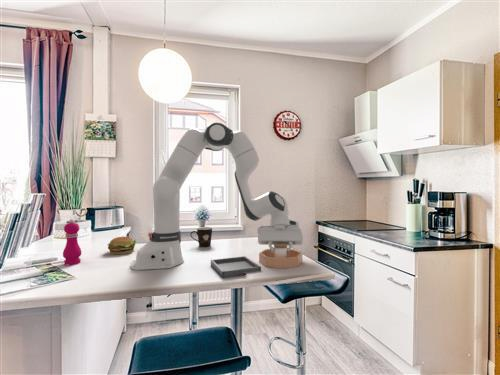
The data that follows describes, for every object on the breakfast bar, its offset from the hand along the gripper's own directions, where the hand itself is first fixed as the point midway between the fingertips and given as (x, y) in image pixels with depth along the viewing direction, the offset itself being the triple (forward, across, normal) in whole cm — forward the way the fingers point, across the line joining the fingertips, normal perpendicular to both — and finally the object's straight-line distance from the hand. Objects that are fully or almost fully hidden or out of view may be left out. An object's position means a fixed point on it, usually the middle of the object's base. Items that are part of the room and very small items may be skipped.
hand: (280, 251), depth 129 cm
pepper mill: (+5, -94, +3) cm, 94 cm away
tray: (+9, -19, -1) cm, 21 cm away
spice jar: (+3, 0, +4) cm, 5 cm away
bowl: (+4, 0, +4) cm, 6 cm away
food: (-10, -82, +18) cm, 84 cm away
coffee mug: (-21, -43, +29) cm, 56 cm away
